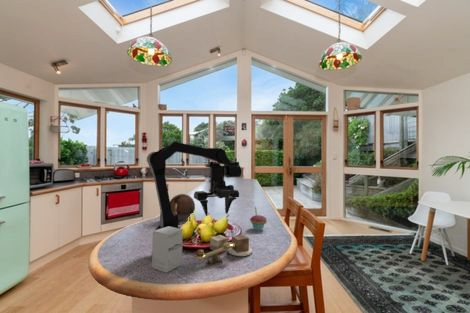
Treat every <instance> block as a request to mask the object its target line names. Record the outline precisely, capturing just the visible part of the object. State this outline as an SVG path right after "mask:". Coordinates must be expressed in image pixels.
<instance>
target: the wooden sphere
mask: <svg viewBox="0 0 470 313" xmlns="http://www.w3.org/2000/svg"><path fill="white" fill-rule="evenodd" d="M170 205H171V210H172V212H175V213H176V214H177V215H178V221H186V220H188V219H189V218H190V217H189V216H190V214H191V213H193V214H194V213H195V209H196V204H195V201H194V199H193V198H192V196H190V195H188V194H185V193H179V194H177V195H174V196H173V197H172V198H171V199H170ZM188 217H189V218H188Z"/></svg>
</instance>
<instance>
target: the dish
mask: <svg viewBox="0 0 470 313" xmlns="http://www.w3.org/2000/svg"><path fill="white" fill-rule="evenodd" d="M227 252H228V254H230V255H231V256H234V257H246V256H250V255H252V254H253V248H252V247H250V246H249V251H245V252H240V253H237V252H236V251H234V250H233V249H232V248H230V249H228V250H227Z"/></svg>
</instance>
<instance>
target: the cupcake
mask: <svg viewBox="0 0 470 313" xmlns="http://www.w3.org/2000/svg"><path fill="white" fill-rule="evenodd" d="M254 210H255V211H254V212H255V215H253V216H251V217H250V219H249V221H250V223H251V226H252V228H253V230H254V231H262V230H264V226H265V224H267V222H268V220H267V218H266V217H265V216H263V215H261V214H258V213H257V212H258V211H257V207H256V206H254Z"/></svg>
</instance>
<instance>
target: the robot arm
mask: <svg viewBox="0 0 470 313" xmlns="http://www.w3.org/2000/svg"><path fill="white" fill-rule="evenodd" d="M176 153H181V154H186V155H192V156H196V157H201V158H204V159H206V160H208V161H209V162H208V163H207V164H205V167H206V168H210V175H209V176H210V179H209V181H208V182H209V184H210V186H209V187H210V188H209V189H208V191H209V192H207V191H204V190H199V191H197V190H195V191H194V193H193V198H194V199H195V200H197V201H198V202H200V204H201V207H202V209H203V210H202V211H203V212H204V216H206V217H208V216H209V215H208V202H209V200H207V199H208V198H215V197H217V198H218V199H223V198H224V213H225V214H226V215H227V214H228V213H229V211H230V208H231V205H232V203H233V202H234V200H237V198H240V192H239V190H237V189H235V186H234V185H233V184H229V185H226V184H227V183H226V180H225V178H240V177H241V175H242V172H243V170H242V167H241V165H240V162H239V161H233V162H232V161H231V160H230V159H229V157H228V156H227V152H226V151H225V149H224V148H220V147H202V146H197V145H192V144H188V143H182V142H179V141H171V142H170V143H168V144H167V145H166V146H163V147H162V148H161V149H159V150H158V151H151V152H150V153H148V155H147V156H146V162H147V164H148V166H149V170H150V171H151V173H152V176H153V178H154V179H153V180H154V184H155V190H156V194H157V200H158V205H159V209H160V210H159V211H160V212H159V225H158V226H157V227H156V228H155V229H154V230H153V231H155V230H158V229H161V228H165V227H168V226H170V227H174V228H179V226H180V225H181V223H180V222H179V220H178V215H177V214H176V213H175V212H172V210H171V205H170V201H171V199H170V196H169V190H168V185H167V180H166V165H167V164H166V161H167V160H169V159H170V158H171V157H172V156H173V155H174V154H176Z"/></svg>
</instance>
